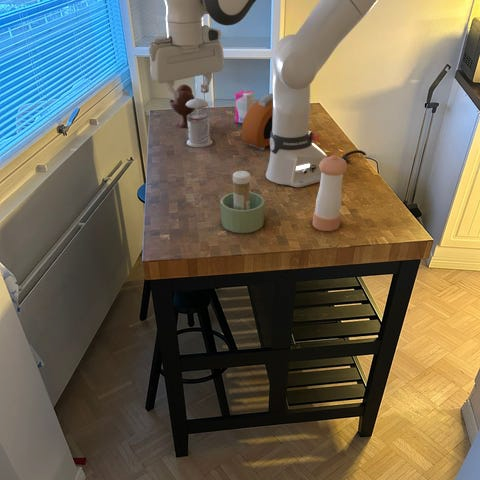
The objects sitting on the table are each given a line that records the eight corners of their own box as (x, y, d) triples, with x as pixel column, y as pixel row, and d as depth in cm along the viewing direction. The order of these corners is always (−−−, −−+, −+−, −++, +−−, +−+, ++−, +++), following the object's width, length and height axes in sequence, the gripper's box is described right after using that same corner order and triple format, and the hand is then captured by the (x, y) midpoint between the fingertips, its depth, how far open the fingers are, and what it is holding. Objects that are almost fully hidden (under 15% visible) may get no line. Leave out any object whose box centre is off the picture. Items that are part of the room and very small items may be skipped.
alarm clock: (256, 153, 169) (257, 103, 158) (240, 146, 174) (240, 98, 164) (303, 138, 180) (306, 91, 169) (286, 132, 186) (289, 85, 175)
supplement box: (254, 121, 196) (255, 91, 188) (247, 125, 192) (247, 95, 184) (242, 119, 198) (242, 89, 190) (235, 123, 194) (234, 93, 187)
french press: (181, 143, 177) (174, 70, 161) (200, 134, 184) (195, 63, 168) (202, 149, 173) (197, 73, 156) (220, 139, 180) (218, 66, 164)
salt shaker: (307, 224, 129) (313, 155, 117) (323, 215, 133) (331, 147, 121) (328, 234, 126) (337, 163, 113) (344, 224, 129) (355, 155, 117)
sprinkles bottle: (253, 221, 130) (253, 174, 121) (239, 226, 128) (239, 178, 119) (244, 215, 133) (243, 168, 124) (230, 219, 131) (229, 172, 122)
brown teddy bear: (169, 122, 195) (165, 83, 185) (195, 119, 198) (193, 80, 188) (174, 131, 187) (170, 90, 178) (201, 128, 190) (199, 87, 180)
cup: (254, 209, 136) (255, 188, 132) (270, 228, 128) (270, 206, 124) (216, 216, 133) (215, 195, 129) (229, 236, 125) (228, 214, 121)
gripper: (155, 42, 107) (162, 106, 116) (226, 30, 117) (228, 91, 126) (141, 38, 111) (149, 100, 120) (211, 27, 121) (213, 86, 130)
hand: (190, 95), depth 123 cm, fingers open, 8 cm apart
